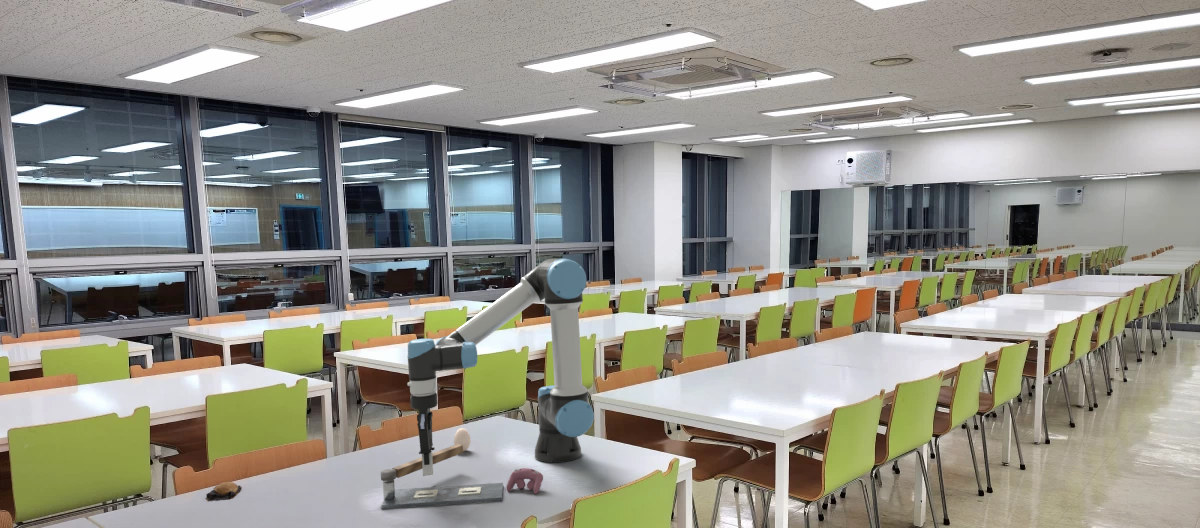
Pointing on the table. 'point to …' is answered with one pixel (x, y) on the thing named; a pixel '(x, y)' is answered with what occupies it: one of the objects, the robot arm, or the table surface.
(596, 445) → the table surface
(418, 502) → the board
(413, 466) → the swing bar
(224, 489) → the toy turtle
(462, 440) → the egg
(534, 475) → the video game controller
